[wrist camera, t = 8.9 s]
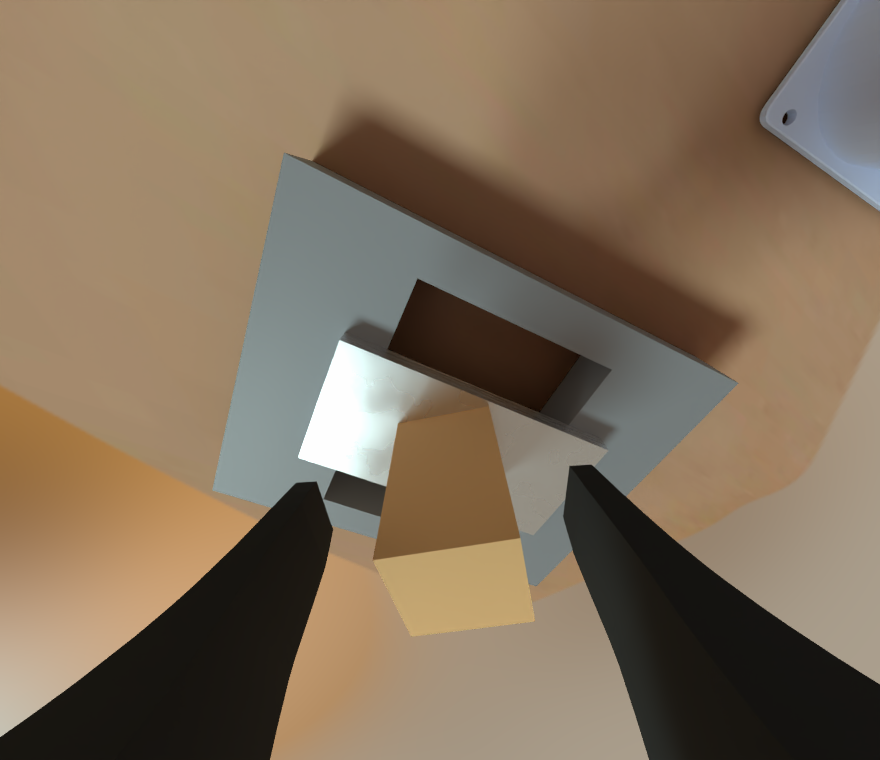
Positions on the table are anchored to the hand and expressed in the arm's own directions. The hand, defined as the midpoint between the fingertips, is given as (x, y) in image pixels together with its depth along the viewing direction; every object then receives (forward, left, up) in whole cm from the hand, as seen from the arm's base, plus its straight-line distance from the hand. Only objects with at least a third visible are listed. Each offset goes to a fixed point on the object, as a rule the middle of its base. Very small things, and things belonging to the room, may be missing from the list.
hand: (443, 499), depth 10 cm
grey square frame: (-2, +3, -10) cm, 11 cm away
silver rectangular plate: (-2, +3, -7) cm, 8 cm away
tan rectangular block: (-2, +3, -6) cm, 7 cm away
